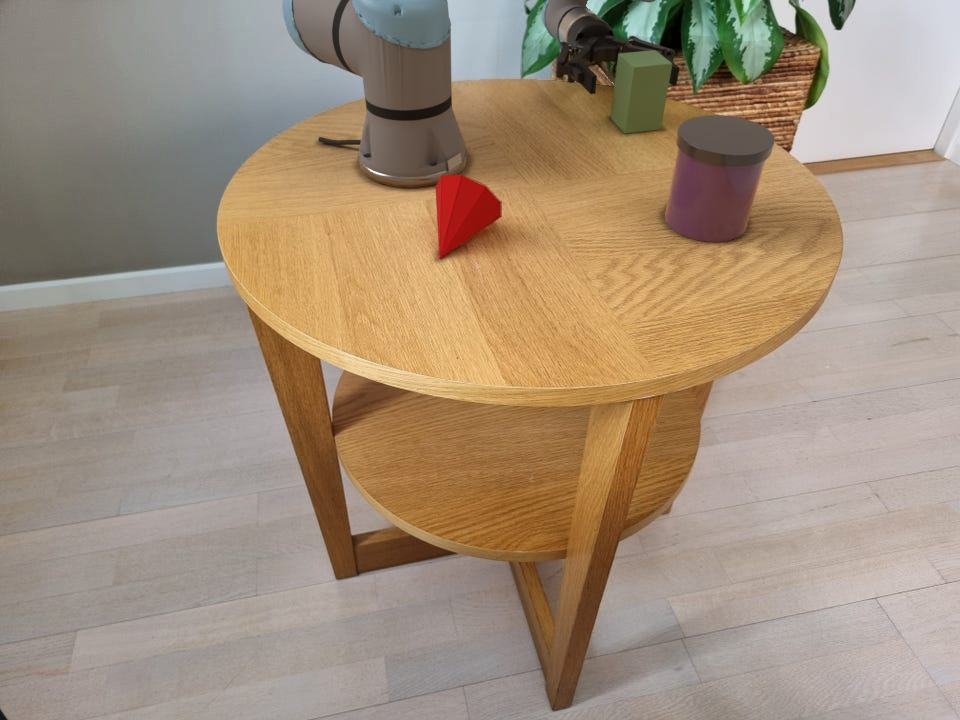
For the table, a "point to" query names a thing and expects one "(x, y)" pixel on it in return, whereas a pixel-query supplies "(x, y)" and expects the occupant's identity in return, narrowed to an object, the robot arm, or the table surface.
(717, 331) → the table surface
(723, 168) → the jar
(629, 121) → the green block
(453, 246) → the gemstone
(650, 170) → the table surface
